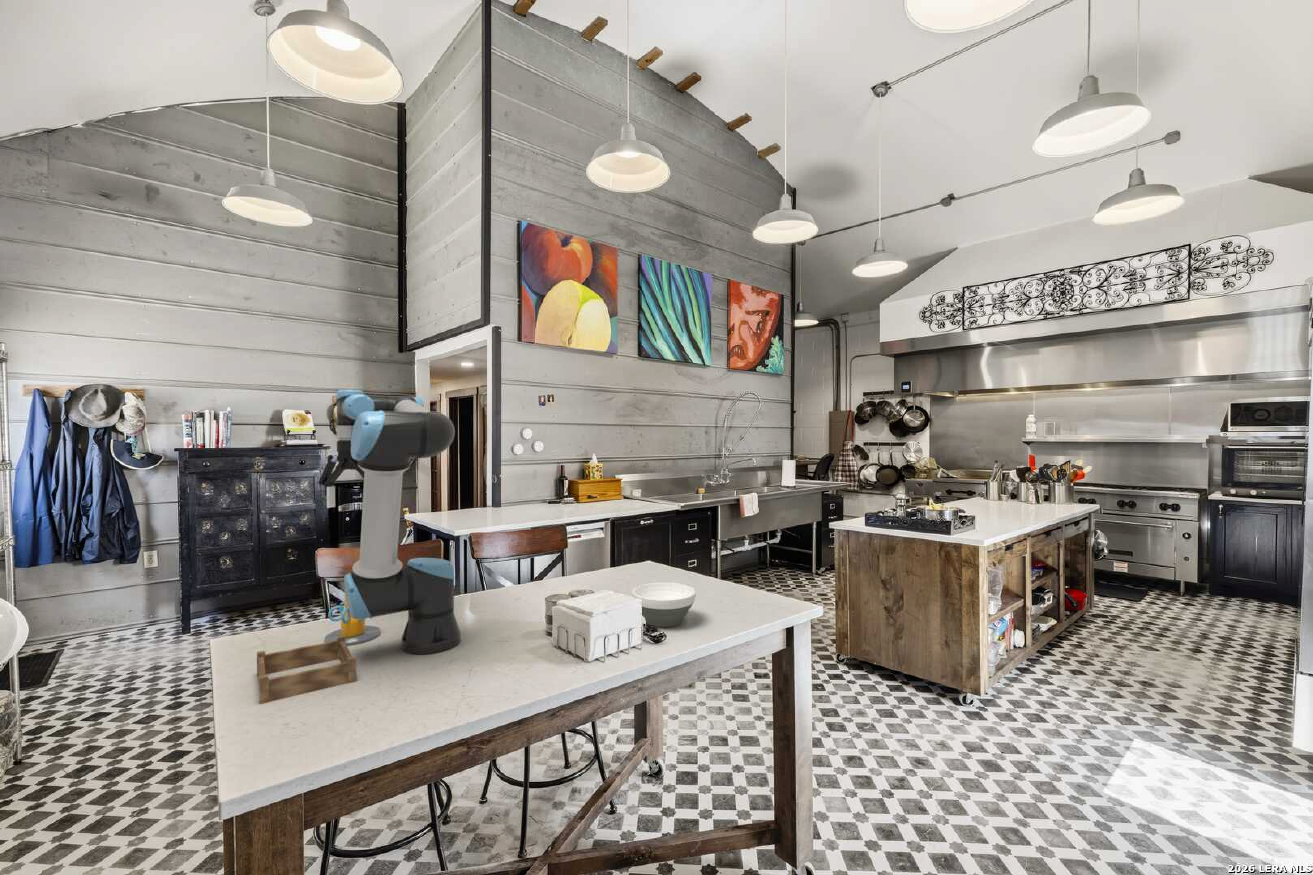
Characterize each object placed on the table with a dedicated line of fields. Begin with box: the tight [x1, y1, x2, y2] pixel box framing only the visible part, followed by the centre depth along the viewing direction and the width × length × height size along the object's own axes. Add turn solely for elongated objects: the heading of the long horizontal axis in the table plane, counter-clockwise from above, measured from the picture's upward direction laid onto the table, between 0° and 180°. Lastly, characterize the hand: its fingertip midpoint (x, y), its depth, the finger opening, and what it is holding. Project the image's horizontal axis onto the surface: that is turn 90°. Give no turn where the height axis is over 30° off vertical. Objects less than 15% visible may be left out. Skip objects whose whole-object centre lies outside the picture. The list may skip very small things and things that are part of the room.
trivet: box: [324, 625, 381, 647], centre depth 159 cm, size 14×14×1 cm
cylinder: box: [327, 592, 367, 637], centre depth 159 cm, size 12×10×15 cm
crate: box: [256, 635, 357, 705], centre depth 132 cm, size 18×18×5 cm
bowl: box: [631, 582, 697, 628], centre depth 172 cm, size 20×20×10 cm
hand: (350, 507), depth 174 cm, fingers open, 13 cm apart
